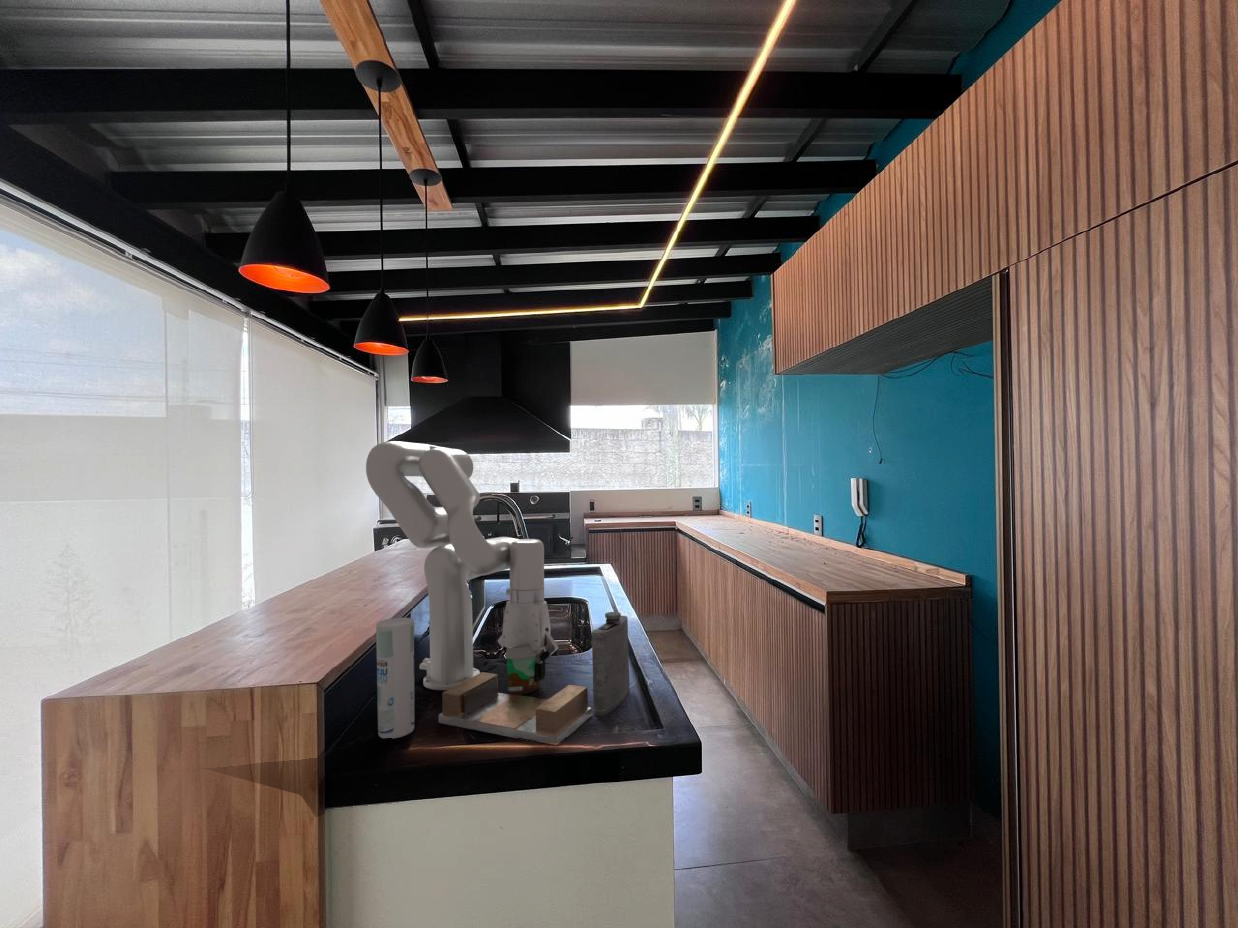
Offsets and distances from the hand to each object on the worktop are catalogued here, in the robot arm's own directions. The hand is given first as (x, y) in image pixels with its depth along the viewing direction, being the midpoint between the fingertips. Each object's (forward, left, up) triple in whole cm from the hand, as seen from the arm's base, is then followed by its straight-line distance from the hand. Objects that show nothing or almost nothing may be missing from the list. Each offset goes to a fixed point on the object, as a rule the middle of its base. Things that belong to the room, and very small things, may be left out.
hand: (527, 677), depth 119 cm
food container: (+1, 0, -2) cm, 2 cm away
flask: (+21, 0, -3) cm, 21 cm away
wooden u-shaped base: (+7, -14, -2) cm, 16 cm away
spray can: (-11, -26, -3) cm, 28 cm away
